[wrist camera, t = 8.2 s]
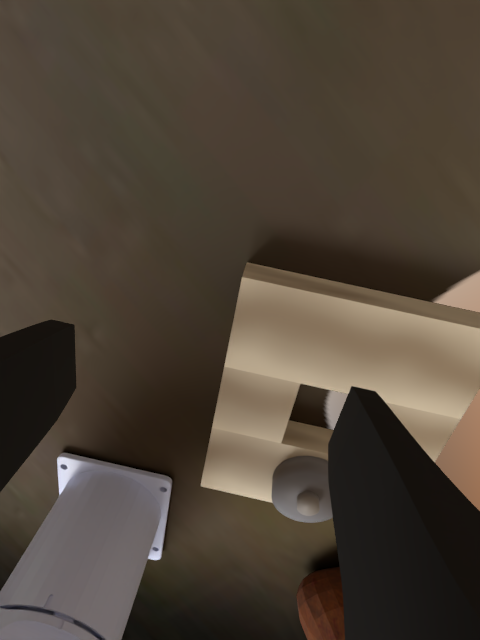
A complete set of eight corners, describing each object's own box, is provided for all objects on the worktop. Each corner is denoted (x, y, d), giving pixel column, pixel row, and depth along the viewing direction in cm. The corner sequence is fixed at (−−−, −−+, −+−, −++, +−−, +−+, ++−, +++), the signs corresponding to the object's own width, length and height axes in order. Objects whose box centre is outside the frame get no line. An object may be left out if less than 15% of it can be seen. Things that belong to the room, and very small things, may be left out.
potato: (293, 539, 28) (294, 678, 21) (463, 545, 26) (525, 700, 19) (298, 598, 32) (300, 735, 24) (449, 607, 30) (498, 758, 23)
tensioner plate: (385, 501, 25) (400, 560, 22) (206, 460, 25) (193, 512, 22) (490, 315, 18) (534, 358, 15) (246, 262, 19) (236, 293, 15)
